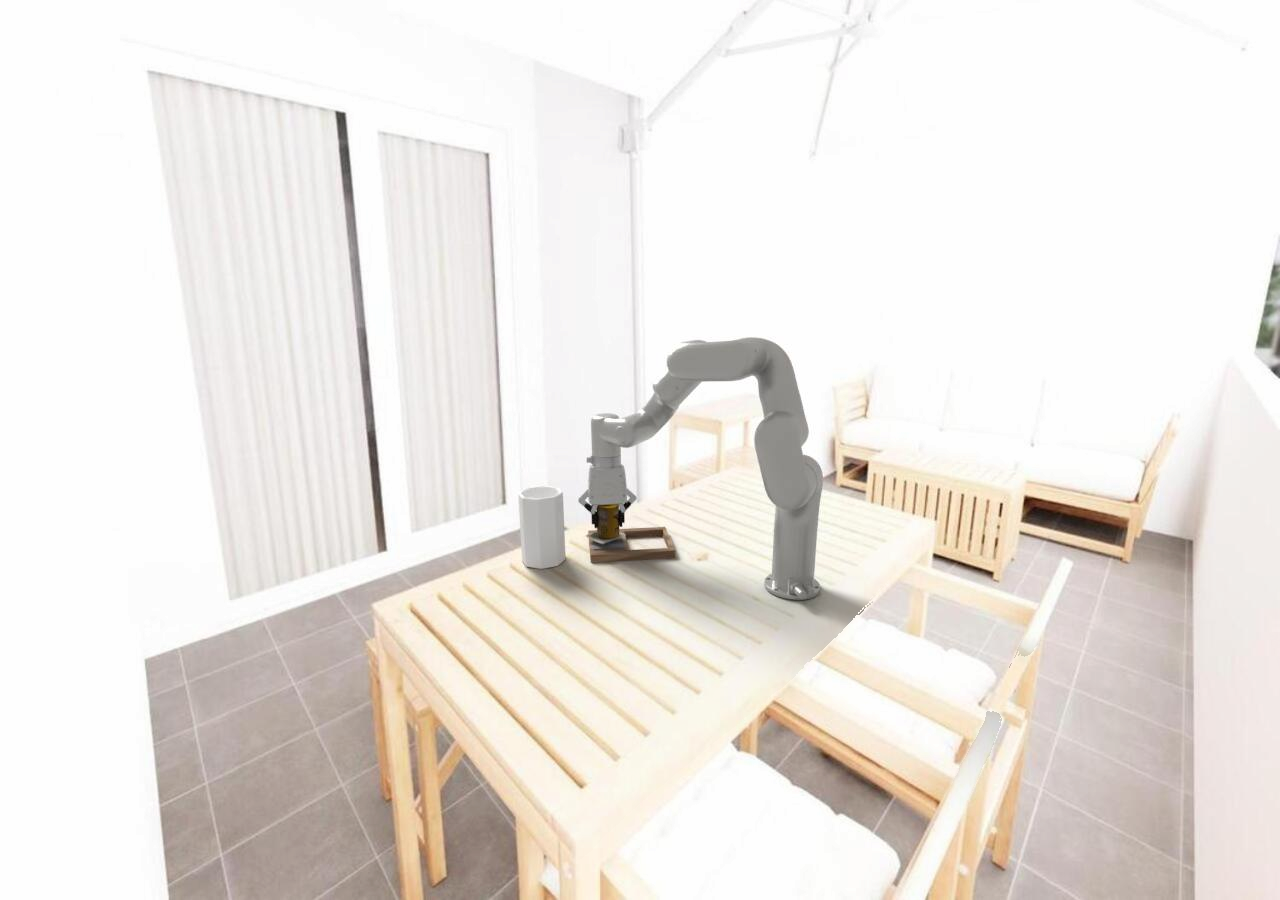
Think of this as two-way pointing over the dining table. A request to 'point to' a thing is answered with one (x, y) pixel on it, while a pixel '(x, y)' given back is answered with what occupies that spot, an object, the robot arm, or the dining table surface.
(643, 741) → the dining table surface
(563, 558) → the cup
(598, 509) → the condiment
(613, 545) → the pocket board
